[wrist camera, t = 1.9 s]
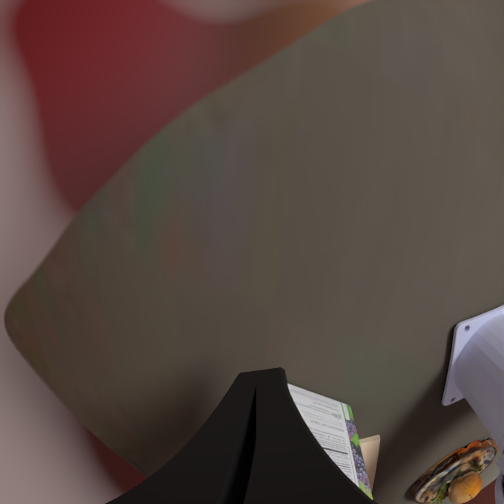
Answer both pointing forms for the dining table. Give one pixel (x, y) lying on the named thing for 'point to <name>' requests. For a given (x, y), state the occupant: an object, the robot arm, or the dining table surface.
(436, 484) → the burger
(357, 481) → the syrup box
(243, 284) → the dining table surface
